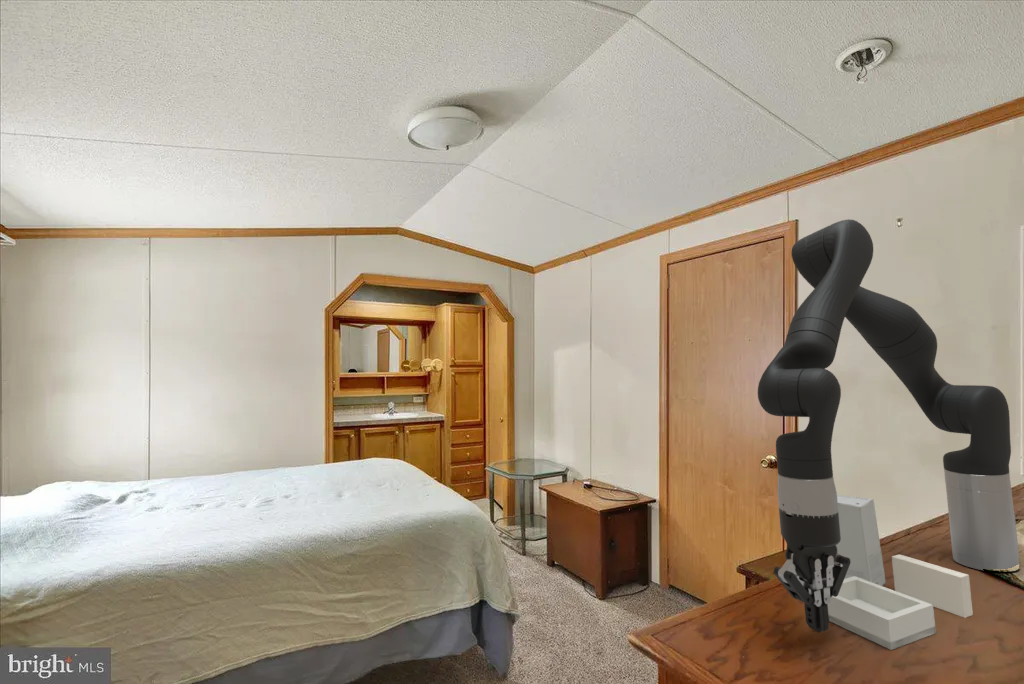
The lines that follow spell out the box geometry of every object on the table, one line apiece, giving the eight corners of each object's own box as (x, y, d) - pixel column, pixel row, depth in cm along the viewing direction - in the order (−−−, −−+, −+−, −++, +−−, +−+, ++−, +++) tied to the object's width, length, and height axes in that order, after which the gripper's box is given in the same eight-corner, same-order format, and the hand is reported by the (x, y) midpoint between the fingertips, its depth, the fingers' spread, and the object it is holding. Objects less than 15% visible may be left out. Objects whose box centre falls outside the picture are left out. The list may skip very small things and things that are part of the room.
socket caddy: (856, 600, 85) (854, 576, 85) (935, 633, 74) (933, 604, 74) (814, 614, 81) (812, 588, 81) (891, 650, 70) (888, 620, 70)
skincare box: (886, 585, 90) (878, 498, 91) (870, 595, 86) (862, 505, 87) (834, 570, 97) (827, 491, 98) (818, 579, 93) (811, 497, 94)
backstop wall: (902, 590, 88) (899, 554, 88) (972, 615, 78) (968, 574, 79) (895, 592, 87) (891, 556, 87) (964, 618, 77) (960, 577, 78)
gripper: (816, 494, 80) (826, 608, 79) (752, 507, 76) (761, 627, 75) (864, 505, 73) (875, 630, 72) (796, 520, 69) (807, 653, 68)
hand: (817, 628), depth 74 cm, fingers closed
